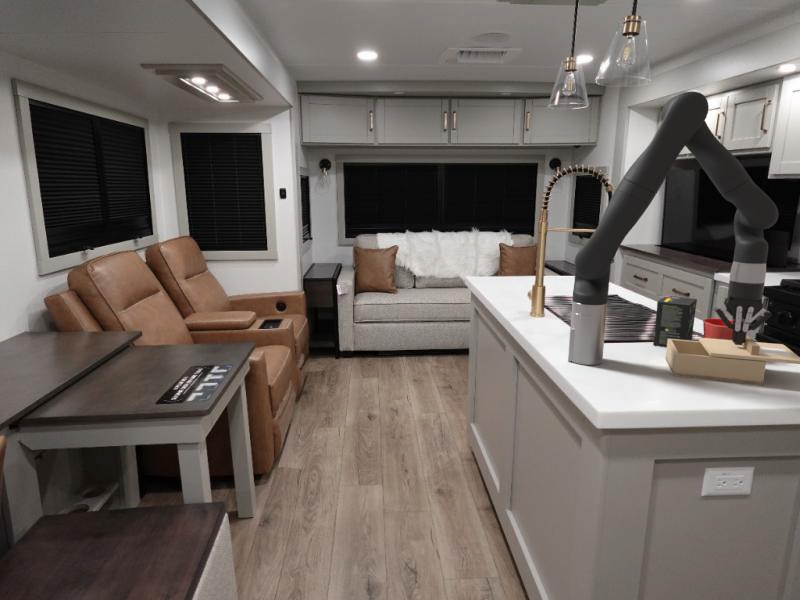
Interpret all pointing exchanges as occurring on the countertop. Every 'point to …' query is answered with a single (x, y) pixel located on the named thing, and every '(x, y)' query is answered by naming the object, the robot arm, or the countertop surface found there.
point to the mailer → (711, 364)
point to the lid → (749, 350)
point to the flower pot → (717, 329)
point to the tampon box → (674, 319)
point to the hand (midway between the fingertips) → (737, 344)
